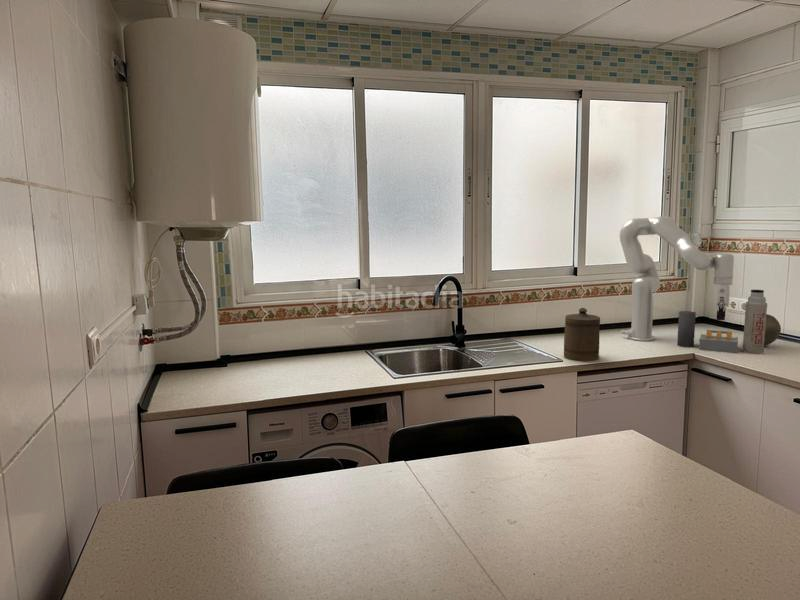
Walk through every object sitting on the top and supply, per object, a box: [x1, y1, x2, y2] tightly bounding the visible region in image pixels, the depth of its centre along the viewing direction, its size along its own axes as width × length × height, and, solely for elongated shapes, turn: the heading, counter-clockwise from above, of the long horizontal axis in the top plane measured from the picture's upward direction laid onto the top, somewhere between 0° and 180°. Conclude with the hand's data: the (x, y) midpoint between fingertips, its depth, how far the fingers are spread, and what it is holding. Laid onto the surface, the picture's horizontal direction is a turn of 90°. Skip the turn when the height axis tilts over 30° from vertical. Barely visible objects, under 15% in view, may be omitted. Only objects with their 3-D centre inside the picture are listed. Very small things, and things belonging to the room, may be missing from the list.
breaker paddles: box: [706, 329, 733, 339], centre depth 258 cm, size 10×2×3 cm, turn 59°
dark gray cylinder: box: [676, 310, 697, 348], centre depth 265 cm, size 7×7×16 cm
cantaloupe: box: [764, 313, 782, 347], centre depth 262 cm, size 14×14×15 cm
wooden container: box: [563, 307, 601, 362], centre depth 248 cm, size 15×15×22 cm
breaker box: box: [698, 333, 739, 354], centre depth 259 cm, size 15×12×5 cm
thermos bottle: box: [742, 289, 768, 355], centre depth 251 cm, size 8×8×28 cm
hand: (720, 318), depth 257 cm, fingers open, 9 cm apart
